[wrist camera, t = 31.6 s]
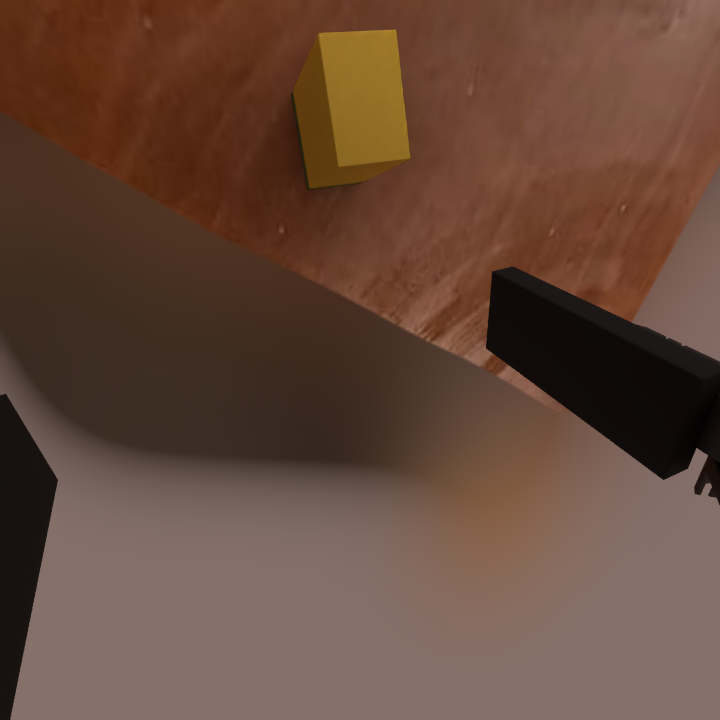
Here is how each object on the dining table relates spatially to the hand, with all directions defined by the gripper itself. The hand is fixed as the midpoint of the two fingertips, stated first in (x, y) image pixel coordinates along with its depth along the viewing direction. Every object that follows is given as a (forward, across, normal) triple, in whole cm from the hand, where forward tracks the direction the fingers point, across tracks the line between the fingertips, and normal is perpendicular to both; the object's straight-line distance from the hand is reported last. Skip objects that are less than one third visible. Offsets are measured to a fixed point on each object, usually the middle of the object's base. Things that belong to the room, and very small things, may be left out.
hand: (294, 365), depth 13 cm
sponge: (+22, +9, +3) cm, 24 cm away
